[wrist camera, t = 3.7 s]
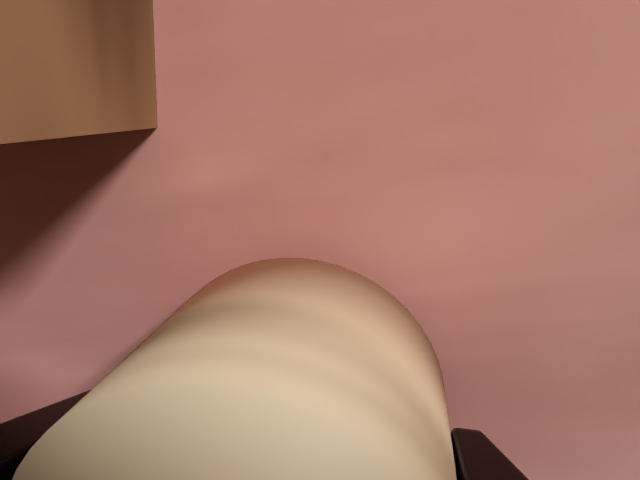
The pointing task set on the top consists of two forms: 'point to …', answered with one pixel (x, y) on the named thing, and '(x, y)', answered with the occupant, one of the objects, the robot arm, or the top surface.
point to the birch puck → (265, 389)
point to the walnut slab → (76, 68)
